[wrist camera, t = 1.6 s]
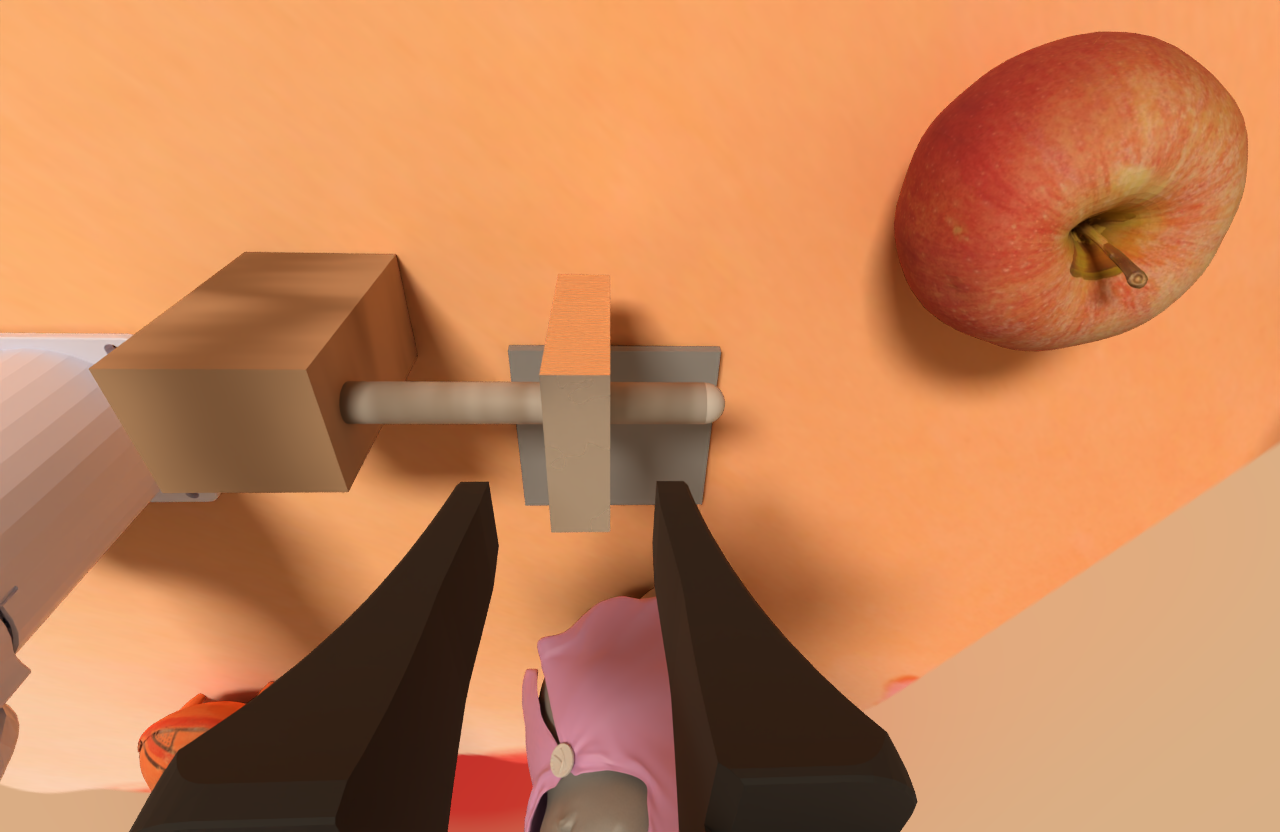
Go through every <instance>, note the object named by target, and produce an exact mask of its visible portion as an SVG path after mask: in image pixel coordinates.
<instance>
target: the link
mask: <svg viewBox="0 0 1280 832" xmlns="http://www.w3.org/2000/svg"><path fill="white" fill-rule="evenodd" d="M539 378H540V391H541V404H542V417H543V430H544V443H545V456H546V469H547V482H548V495H549V508H550V521H551V532H610V275H577V274H558V277H557V283H556V288H555V293H554V299H553V304H552V309H551V315H550V320H549V325H548V331H547V336H546V342H545V347H544V352H543V358H542V363H541V368H540V374H539Z"/></svg>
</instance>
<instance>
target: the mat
mask: <svg viewBox="0 0 1280 832" xmlns="http://www.w3.org/2000/svg"><path fill="white" fill-rule="evenodd" d="M544 347H545V345H509V349H508V355H509V364H510V373H511V381H512V382H540V378H539V374H540V368H541V363H542V358H543V352H544ZM720 355H721V350H720V347H715V346H610V382H705V383H710V384H713V385H715V386H716V387H717V379H718V371H719V363H720ZM516 426H517V435H518V444H519V452H520V461H521V470H522V479H523V488H524V497H525V505H549V495H548V482H547V469H546V456H545V443H544V430H543V424H516ZM711 427H712V423H709V424H610V505H655V496H656V481H684V482H685V483H686V484H688V486H689V489H690V492H691V494H692V496H693V499H694V501H695V503H696V504H702V499H703V491H704V483H705V475H706V467H707V459H708V451H709V443H710V435H711Z"/></svg>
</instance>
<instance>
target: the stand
mask: <svg viewBox="0 0 1280 832" xmlns="http://www.w3.org/2000/svg"><path fill="white" fill-rule="evenodd" d="M417 357H418V355H417V350H416V346H415V341H414V336H413V332H412V327H411V322H410V318H409V313H408V308H407V304H406V299H405V295H404V290H403V285H402V281H401V276H400V271H399V267H398V262H397V257H396V254H341V253H270V252H244V253H243V254H241V255H240V256H239V257H237V258H236V259H235V260H233V261H232V262H231V263H229V264H228V265H227V266H225V267H224V268H223V269H221V270H220V271H219V272H217V273H216V274H215V275H213V276H212V277H211V278H209V279H208V280H207V281H205V282H204V283H203V284H201V285H200V286H199V287H197V288H196V289H195V290H193V291H192V292H191V293H189V294H188V295H187V296H185V297H184V298H182V299H181V300H180V301H178V302H177V303H176V304H174V305H173V306H172V307H170V308H169V309H168V310H166V311H165V312H164V313H162V314H161V315H160V316H158V317H157V318H156V319H154V320H153V321H152V322H150V323H149V324H148V325H146V326H145V327H144V328H142V329H141V330H140V331H138V332H137V333H136V334H134V335H133V336H132V337H130V338H129V339H128V340H126V341H125V342H124V343H122V344H121V345H120V346H118V347H117V348H116V349H114V350H113V351H112V352H110V353H109V354H107V355H106V356H105V357H103V358H102V359H101V360H99V361H98V362H97V363H95V364H94V365H93V366H91V367H90V368H89V370H90V372H91V374H92V376H93V377H94V379H95V381H96V382H97V384H98V386H99V387H100V389H101V391H102V392H103V394H104V396H105V397H106V399H107V401H108V403H109V404H110V406H111V408H112V409H113V411H114V413H115V414H116V416H117V418H118V419H119V421H120V423H121V424H122V426H123V428H124V429H125V431H126V433H127V435H128V436H129V438H130V440H131V441H132V443H133V445H134V446H135V448H136V450H137V451H138V453H139V455H140V456H141V458H142V460H143V462H144V463H145V465H146V467H147V468H148V470H149V472H150V473H151V475H152V477H153V478H154V480H155V482H156V483H157V485H158V487H159V489H160V490H161V492H162V493H285V492H349V490H350V488H351V486H352V484H353V482H354V480H355V478H356V476H357V474H358V472H359V470H360V468H361V466H362V464H363V462H364V460H365V458H366V456H367V454H368V453H369V451H370V449H371V447H372V445H373V443H374V441H375V439H376V437H377V435H378V433H379V431H380V429H381V427H382V425H383V424H543V417H542V404H541V391H540V382H433V381H405V380H406V378H407V376H408V374H409V372H410V370H411V368H412V366H413V364H414V362H415V360H416V358H417ZM724 407H725V399H724V396H723V394H722V392H721V391H720V389H719V388H718V387H716V386H715V385H713V384H710V383H705V382H610V424H709V423H712V422H714V421H716V420H717V419H718V418H719V417H720V416H721V415H722V413H723V411H724Z"/></svg>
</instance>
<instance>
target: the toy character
mask: <svg viewBox="0 0 1280 832" xmlns="http://www.w3.org/2000/svg"><path fill="white" fill-rule="evenodd" d="M537 648H538V653H539V656H540V660H541V665H542V670H543V673H544V676H545V678H544V680H543V683H542V687H541V691H540V695H539V698H538V693H537V677H538V670H537V669H527V670H526V672H525V675H524V679H523V685H522V708H523V714H524V721H525V731H526V751H527V759H528V766H529V771H530V775H531V780H532V785H533V789H532V792H531V795H530V798H529V802H528V806H527V813H526V817H525V828H524V832H679V824H678V804H677V786H676V768H675V751H674V735H673V719H672V704H671V693H670V684H669V676H668V669H667V663H666V657H665V650H664V644H663V637H662V631H661V625H660V618H659V612H658V605H657V599H656V592H655V588H653V589H652V590H650V591H649V592H648V593H646V594H645V595H644V596H643V597H642V598H641V599H637V598H631V597H626V596H618V597H613V598H610V599H607V600H604V601H601V602H599V603H598V604H596V605H595V606H593V607H592V608H591V609H590V610H589V611H587V612H586V613H585V614H584V615H583V616H582V617H581V618H580V619H579V620H578V621H577V622H576V623H575V624H574V625H573V626H572V627H571V628H570V629H568V630H567V631H565V632H563V633H561V634H558V635H553V636H547V637H543V638H541V639H540V640H539V641H538V644H537Z"/></svg>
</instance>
